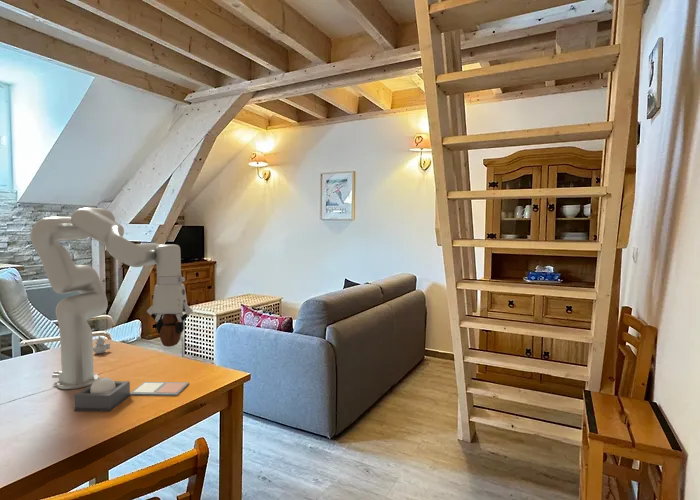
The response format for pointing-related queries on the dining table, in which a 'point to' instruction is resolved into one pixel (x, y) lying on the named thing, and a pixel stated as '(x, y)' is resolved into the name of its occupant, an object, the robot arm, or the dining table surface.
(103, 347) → the rubber duck
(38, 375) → the dining table surface
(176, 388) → the grey flat tray
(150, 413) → the dining table surface
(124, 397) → the dome housing
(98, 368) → the dining table surface
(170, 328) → the wooden figurine
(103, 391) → the dome
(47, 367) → the dining table surface
